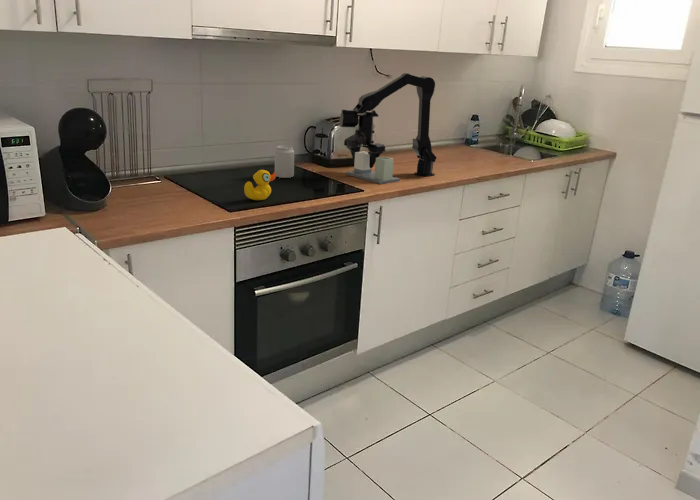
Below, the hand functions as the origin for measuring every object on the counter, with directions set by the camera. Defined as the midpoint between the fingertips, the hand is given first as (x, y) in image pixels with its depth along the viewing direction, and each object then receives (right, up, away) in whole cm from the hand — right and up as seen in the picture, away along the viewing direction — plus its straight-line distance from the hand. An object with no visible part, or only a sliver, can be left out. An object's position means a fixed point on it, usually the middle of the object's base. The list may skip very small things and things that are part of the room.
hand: (363, 166), depth 239 cm
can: (-31, -6, -11) cm, 33 cm away
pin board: (+4, -5, -3) cm, 7 cm away
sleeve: (0, -2, +1) cm, 3 cm away
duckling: (-36, -18, -44) cm, 59 cm away
